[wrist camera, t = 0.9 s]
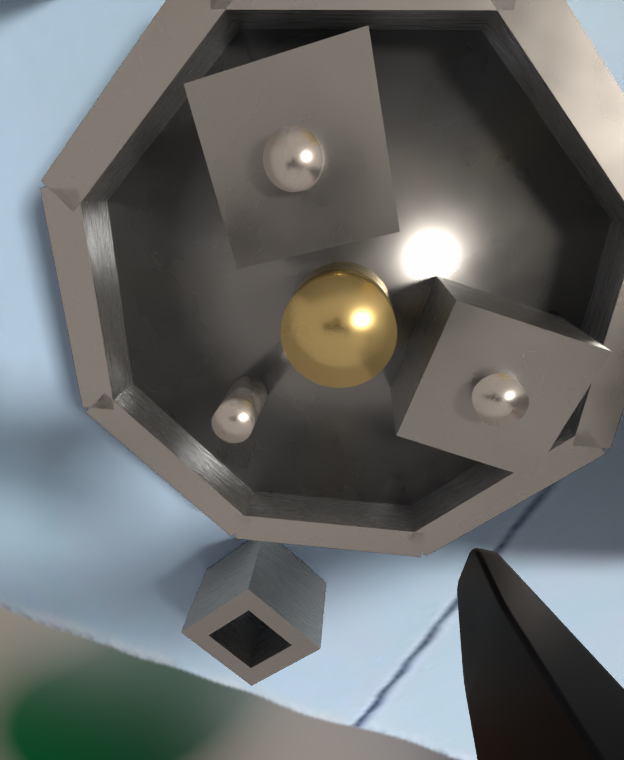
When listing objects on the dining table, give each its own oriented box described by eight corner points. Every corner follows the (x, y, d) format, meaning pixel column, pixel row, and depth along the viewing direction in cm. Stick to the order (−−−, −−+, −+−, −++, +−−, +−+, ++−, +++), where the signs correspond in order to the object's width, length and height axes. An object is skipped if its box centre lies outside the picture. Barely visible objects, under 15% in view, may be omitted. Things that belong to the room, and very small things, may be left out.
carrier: (731, 326, 18) (884, 386, 13) (326, 573, 26) (317, 675, 20) (374, -224, 13) (383, -502, 8) (2, 285, 21) (-123, 320, 15)
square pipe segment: (326, 583, 26) (320, 648, 22) (266, 619, 28) (251, 685, 24) (264, 529, 25) (248, 588, 21) (206, 570, 26) (181, 632, 23)
